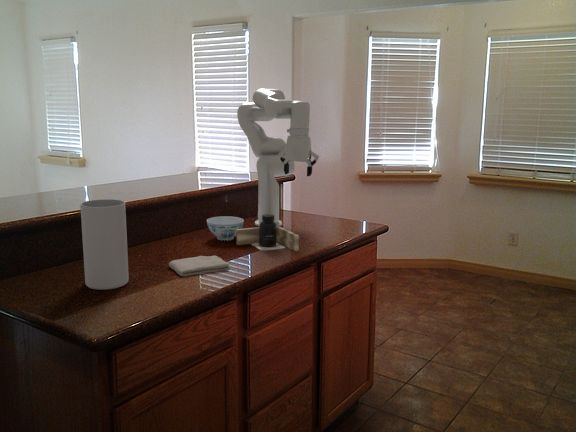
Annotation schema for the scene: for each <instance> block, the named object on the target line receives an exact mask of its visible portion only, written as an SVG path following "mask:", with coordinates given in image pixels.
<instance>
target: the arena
mask: <svg viewBox="0 0 576 432" xmlns="http://www.w3.org/2000/svg"><path fill="white" fill-rule="evenodd" d="M299 242H300V236H299V234H297V233H294V232H292V231H290V230H289V229H286V228H284V227H282V226H278V225H277V235H276V245H275V246H274V247H262V246H260V245H259V226H256V227H248V228H247V227H246V228H242V229H237V235H236V245H238V246H240V245H241V246H242V245H251V246H253V247H255V248H256V249H258V250H259V251H261V252H265V251H266V252H267V251H275V250H283V249H286V247H287V248H288V249H290V250H291V251H293V252H298V251H299V249H300V248H299V247H300V245H299V244H300V243H299Z"/></svg>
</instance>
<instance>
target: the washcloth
mask: <svg viewBox="0 0 576 432" xmlns="http://www.w3.org/2000/svg"><path fill="white" fill-rule="evenodd" d="M168 266H169V267H170V268H171V269H172V270H173V271H175V273H176V274H178V275H179V276H181V277H188V276H194V275H201V274H202V275H203V274H207V273H214V272H221V271H227V270H230V262H229V263H228V262H226V261H225V260H223V258H222V257H220V256H217V255H211V256H210V255H209V256H204V255H198V256H194V257H187V258H185V257H184V258H180V259H174V260H171V261H170V262H168Z"/></svg>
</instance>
